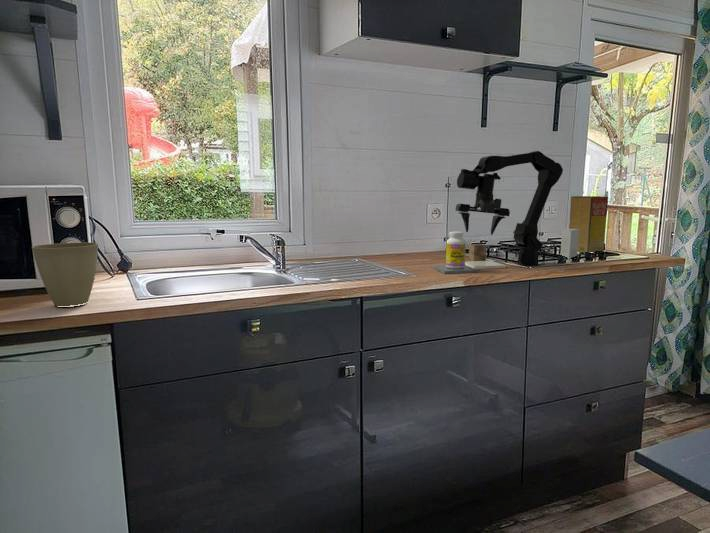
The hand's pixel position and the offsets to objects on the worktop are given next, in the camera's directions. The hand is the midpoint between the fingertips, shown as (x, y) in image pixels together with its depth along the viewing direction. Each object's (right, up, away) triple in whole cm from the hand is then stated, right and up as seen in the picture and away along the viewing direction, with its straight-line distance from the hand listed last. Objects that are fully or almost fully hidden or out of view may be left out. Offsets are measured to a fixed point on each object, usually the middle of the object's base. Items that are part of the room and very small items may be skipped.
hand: (479, 233), depth 181 cm
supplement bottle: (-10, -13, -5) cm, 17 cm away
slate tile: (-10, -14, -5) cm, 18 cm away
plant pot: (-121, -23, -52) cm, 133 cm away
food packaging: (+57, -6, +38) cm, 69 cm away
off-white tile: (+2, -12, +4) cm, 13 cm away
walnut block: (+3, -11, +14) cm, 18 cm away
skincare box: (+42, -9, +21) cm, 48 cm away
